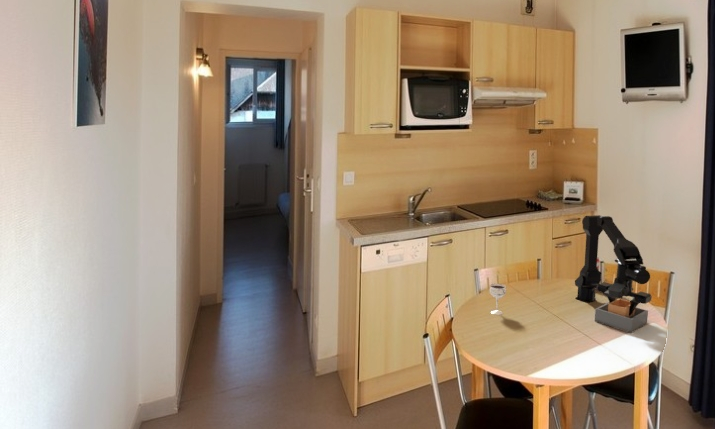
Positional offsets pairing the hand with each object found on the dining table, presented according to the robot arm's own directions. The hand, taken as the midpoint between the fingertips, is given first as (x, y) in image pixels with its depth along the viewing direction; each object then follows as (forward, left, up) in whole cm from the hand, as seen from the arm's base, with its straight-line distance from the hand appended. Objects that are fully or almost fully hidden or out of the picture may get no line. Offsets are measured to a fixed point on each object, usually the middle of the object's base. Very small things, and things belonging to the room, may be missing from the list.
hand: (621, 312), depth 184 cm
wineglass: (-37, -31, -4) cm, 49 cm away
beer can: (-27, +29, -4) cm, 41 cm away
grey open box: (0, 0, -4) cm, 4 cm away
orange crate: (0, 0, -1) cm, 1 cm away
